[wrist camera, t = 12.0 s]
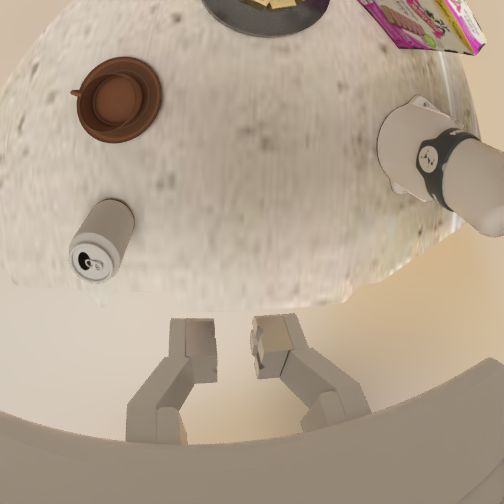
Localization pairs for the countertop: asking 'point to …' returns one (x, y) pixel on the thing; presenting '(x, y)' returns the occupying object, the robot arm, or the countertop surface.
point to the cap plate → (266, 17)
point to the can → (101, 242)
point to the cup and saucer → (118, 99)
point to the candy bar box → (429, 24)
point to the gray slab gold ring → (272, 4)
